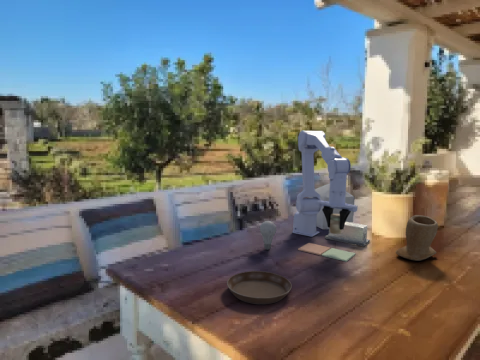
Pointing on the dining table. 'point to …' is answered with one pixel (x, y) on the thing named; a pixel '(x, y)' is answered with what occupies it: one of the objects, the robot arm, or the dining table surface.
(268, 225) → the lightbulb
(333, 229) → the fuse
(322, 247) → the terracotta pad
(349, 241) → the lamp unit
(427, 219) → the stone cup
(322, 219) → the decorative block
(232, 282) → the plant saucer
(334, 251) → the sage pad
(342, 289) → the dining table surface
